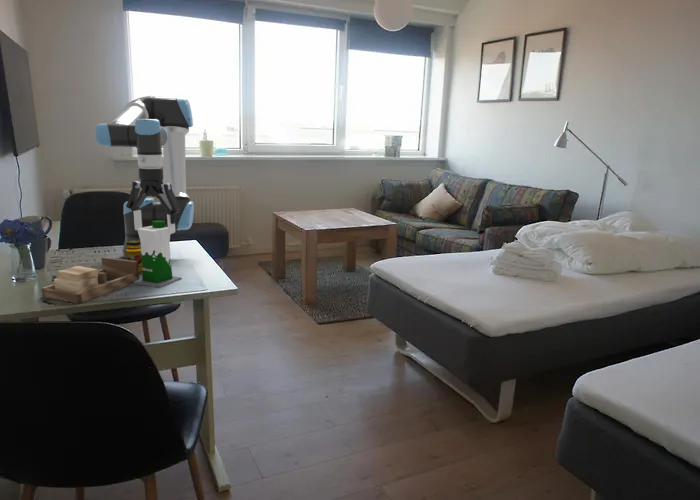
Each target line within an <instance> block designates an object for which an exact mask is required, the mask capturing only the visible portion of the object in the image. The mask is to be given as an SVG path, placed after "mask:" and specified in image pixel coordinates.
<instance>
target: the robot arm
mask: <svg viewBox="0 0 700 500" xmlns="http://www.w3.org/2000/svg"><path fill="white" fill-rule="evenodd" d="M193 126H194V121H193V113H192V110H191V105H190V101H189V100H188V98H186V97H182V96H181V97H180V96H155V95H147V96H142V97H138V98H136V99H133V100H131V101H129V102H128V103H126V105H125V106H124V107H123V109H122V112H121V113H120V114H119V115H117V116H116V118H115V119H113V120H112V121H111V122H110V123H107V122H105V123H98V124H96V126H95V128H94V135H95V141H96V143H97V145H98V146H99V147H109V148H112V147H113V148H115V147H116V148H136V151H137V154H136V156H137V166H138V171H137V172H138V179H139V180H135V181H132V183H131V184H132V186H131V191H130V194H129V197H128V200H127V201H125V202H124V204H123V214H122V215H123V221H124V232H125V233H124V235H125V238H124V241H123V246H122V247H123V248H122V250H121V253H122V254H121V257H122V259H126V249H127V247H126V246H127V244H126V242H127V241H130V240H140V238H139V234H138V230H137V229H139V228H143V227H148V226H153V224H152V221H155V220H164V221H165V226H166V227H168V234H170V235H172V234H174V233H176V231H187V230H189V229H191V227H192V225H193V222H194V214H195V205H194V204H195V203H194V201H192V200H191V197H190V196H189V195H188V194H187V182H186V181H187V180H186V178H187V177H186V172H187V171H186V169H187V168H186V136H187V134H188V133H189V131H190V128H192V127H193ZM162 151H163V152H162ZM162 167H163V168H162ZM154 197H156V199H158V200H159V201H155V198H154Z"/></svg>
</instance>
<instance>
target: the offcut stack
mask: <svg viewBox="0 0 700 500" xmlns="http://www.w3.org/2000/svg"><path fill="white" fill-rule="evenodd" d="M98 270H99V269H97V268H93V267H87V266H86V267H85V266H80V265H76V266H72V267H71V266H70V267H67V268H64V269H61V270H60V269H59V270H57V276H58V277H57V278H54V279H53V284H54V285H55V290H59V291H65V292H72V293H77V292H80V291H83V290H86V289H88V288H91V287H94V286H97V285H100V284H98Z"/></svg>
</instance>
